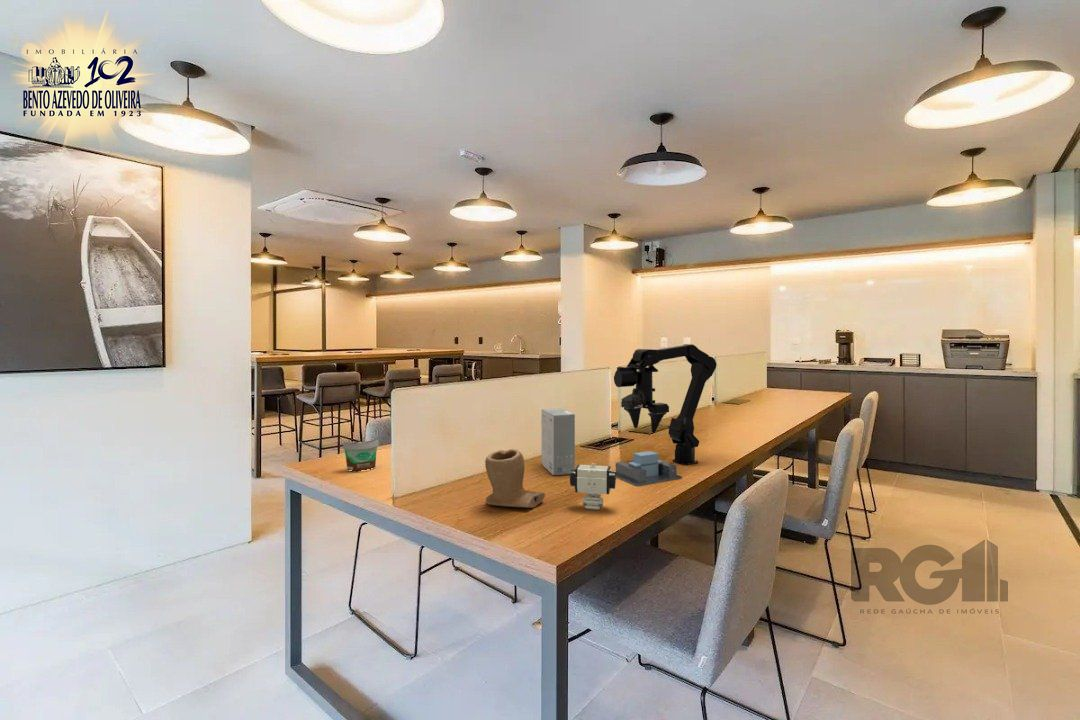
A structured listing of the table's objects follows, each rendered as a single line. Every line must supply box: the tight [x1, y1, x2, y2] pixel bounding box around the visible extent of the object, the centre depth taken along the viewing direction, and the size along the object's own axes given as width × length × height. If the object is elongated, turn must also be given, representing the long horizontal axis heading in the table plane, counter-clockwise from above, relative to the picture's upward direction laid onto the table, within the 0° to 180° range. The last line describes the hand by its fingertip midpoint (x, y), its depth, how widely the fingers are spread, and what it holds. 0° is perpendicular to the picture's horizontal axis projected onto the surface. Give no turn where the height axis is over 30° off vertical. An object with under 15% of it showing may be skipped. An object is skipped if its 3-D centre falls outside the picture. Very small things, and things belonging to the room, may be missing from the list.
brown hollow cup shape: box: [484, 448, 546, 509], centre depth 134 cm, size 15×12×15 cm
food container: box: [342, 437, 380, 471], centre depth 171 cm, size 12×6×10 cm, turn 132°
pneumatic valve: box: [569, 462, 617, 511], centre depth 132 cm, size 6×12×12 cm, turn 77°
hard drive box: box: [540, 408, 576, 476], centre depth 170 cm, size 16×8×20 cm, turn 15°
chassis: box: [615, 460, 683, 487], centre depth 161 cm, size 18×14×4 cm
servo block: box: [627, 450, 663, 477], centre depth 161 cm, size 11×4×7 cm, turn 117°
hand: (644, 430), depth 172 cm, fingers open, 9 cm apart
